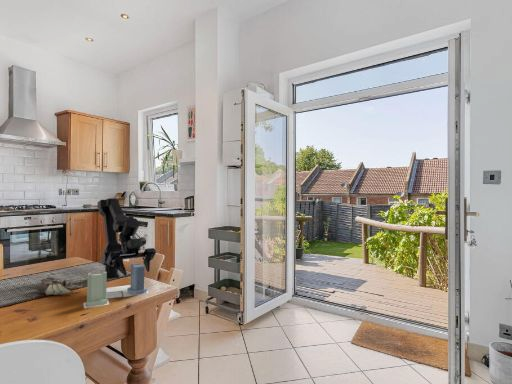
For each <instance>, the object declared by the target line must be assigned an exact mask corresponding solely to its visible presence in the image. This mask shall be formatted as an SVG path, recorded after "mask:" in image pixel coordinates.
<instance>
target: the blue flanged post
mask: <svg viewBox="0 0 512 384" xmlns="http://www.w3.org/2000/svg"><path fill="white" fill-rule="evenodd" d="M145 269H146V268H145V265H144V264H142V265H141V263H140V262H138V263H131V264H130V285H131V287H130V288H128V289H127V292H129V293H130V294H132V295H133V296H138V295H137V294H140V295H143V294H142V293H147V291H148V289H147V288H146V287H145ZM147 294H148V293H147Z"/></svg>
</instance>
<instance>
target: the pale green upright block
mask: <svg viewBox="0 0 512 384" xmlns="http://www.w3.org/2000/svg"><path fill="white" fill-rule="evenodd" d="M92 273H93V272H91V273H87V281H86V282H87V285H86V287H87V288H86V289H87V291H86V302H87V307H90V306H96V305H103V304H106V288H107V283H108V282H107V281H108V278H107V272H105V271H103V272H102V273H95V274H92ZM103 306H104V305H103Z"/></svg>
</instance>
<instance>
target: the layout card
mask: <svg viewBox="0 0 512 384" xmlns="http://www.w3.org/2000/svg"><path fill="white" fill-rule="evenodd" d="M130 287H131V284H127V285H120V286H118V285H117V286H110V287H106V304H103V305H96V306H90V307H87V301H86V302H83V304H82V305H83V309H84V310H85V309H90V308H96V307H102V306H109V305H110V302H109V300H113V299H118V298H119V299H121V298H126V297H127V298H128V297H131V296H134V295H132V294H130V293H129V292H127V289H128V288H130ZM145 294H150V292H149V291H148V290H147V293H142V294H137V295H136V296H139V295H145Z"/></svg>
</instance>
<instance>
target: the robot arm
mask: <svg viewBox="0 0 512 384" xmlns="http://www.w3.org/2000/svg"><path fill="white" fill-rule="evenodd" d="M97 209H98V212H99V214H100V215H101V216H102V217H103V222H104V223H103V224H104V232H105V240H106V246H105V248H104V250H103V254H102V256H101V258H100V264H101V265H103V266H104V267H105V269H104V272H107V279H111V278H119V276H120V274H119V272H120V273H121V274H122V275H124V277H127V274H128V273H127V270H126V266H125V264H124V260H132V259H141V258H142V260H143V265H144V266H145V268H144V269H145V271H146V272H147V273H150V268H151V266H150V265H151V261H152V260H153V259H154V257H155V255H156V254H157V251H156V249H155V248H154V247H151V248H150V247H149V248H145V249H144V250H143V252H140V251H141V249H142V248H141V247H143V246H145V245H146V244H147V238H146V237H145V236H141V237H137V238H135V237H134V236H135V235H136V234H137V232H138V229H140V225H141V222H140V220H138V219H137V218H135V217H134V216H133V215H132V216H131V215H130V216H129V215H128V216H127V215H126V214H124V212H123V208H122V206H121V204H120V200H119V198H116V197H115V198H112V197H110V198H109V197H108V198H106V199H100V200H98V202H97ZM118 233H119V234H118ZM117 234H118V239H117Z"/></svg>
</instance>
